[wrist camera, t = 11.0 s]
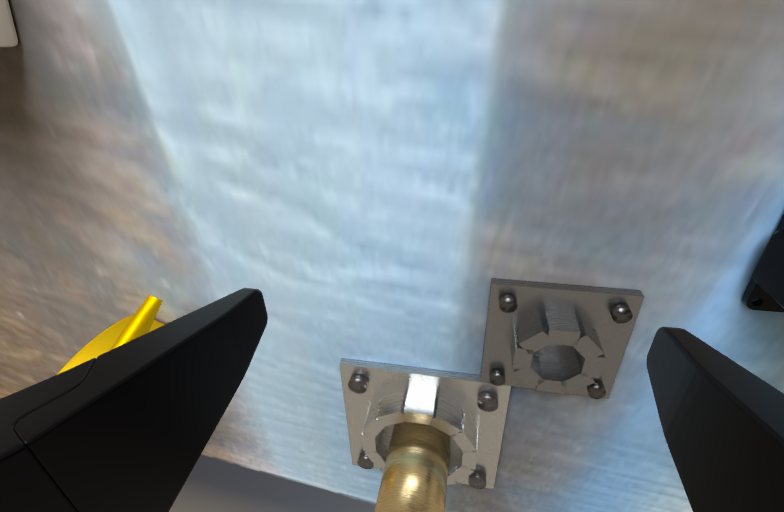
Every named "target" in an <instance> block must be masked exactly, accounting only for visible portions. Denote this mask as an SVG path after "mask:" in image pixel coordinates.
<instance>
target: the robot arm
mask: <svg viewBox="0 0 784 512" xmlns="http://www.w3.org/2000/svg"><path fill="white" fill-rule="evenodd" d="M756 298H759V299H758V300H756V301H753V300H754V299H756ZM742 301H743V303H744V304H745V305H746V306H747V307H748V308H750V309H753V310H762V311H774V312H784V216H783V218H782V220H781V222H780V224H779V226H778V227H777V229H776V231H775V233H774V234H773V235H772V237H771V239H770V241H769V243H768V245H767V247H766V249H765V251H764V253H763V255H762V257H761V259H760V261H759V263H758V265H757V267H756V269H755V271H754V273H753V275H752V279H751V281H750V283H749V285H748V287H747V289H746V291H745V293H744V295H743V297H742ZM267 319H268V316H267V311H266V307H265V303H264V299H263V295H262V292H261V291H260V290H258V289H251V288H243V289H241V290H238V291H236V292H234V293H232V294H230V295H228V296H226V297H223V298H221V299H219V300H217V301H215V302H213V303H211V304H208V305H206V306H204V307H202V308H200V309H198V310H196V311H193V312H191V313H189V314H187V315H185V316H183V317H181V318H178V319H176V320H174V321H172V322H170V323H168V324H166V325H163V326H161V327H159V328H157V329H155V330H153V331H151V332H148V333H146V334H144V335H142V336H140V337H138V338H136V339H133V340H131V341H129V342H127V343H125V344H123V345H121V346H118V347H116V348H114V349H112V350H110V351H108V352H106V353H103V354H101V355H99V356H98V357H97V359H96V358H92V359H90V360H88V361H86V362H84V363H82V364H80V365H78V366H75V367H73V368H71V369H69V370H67V371H64V372H62V373H60V374H58V375H55V376H53V377H51V378H49V379H47V380H44V381H42V382H39V383H37V384H35V385H32V386H30V387H28V388H25V389H23V390H21V391H18V392H16V393H13V394H11V395H9V396H6V397H4V398H1V399H0V512H169V510H170V508H171V507H172V505H173V503H174V501H175V500H176V498H177V496H178V494H179V492H180V490H181V489H182V487H183V485H184V483H185V482H186V480H187V478H188V476H189V474H190V473H191V471H192V469H193V467H194V466H195V464H196V462H197V460H198V458H199V457H200V455H201V453H202V451H203V450H204V448H205V446H206V444H207V442H208V441H209V439H210V437H211V435H212V433H213V432H214V430H215V428H216V426H217V425H218V423H219V421H220V419H221V417H222V416H223V414H224V412H225V410H226V408H227V407H228V405H229V403H230V401H231V400H232V398H233V396H234V394H235V392H236V391H237V389H238V387H239V385H240V383H241V381H242V379H243V378H244V376H245V373H246V371H247V369H248V367H249V365H250V362H251V360H252V358H253V355H254V353H255V351H256V348H257V346H258V344H259V341H260V339H261V336H262V334H263V332H264V329H265V327H266V324H267ZM647 369H648V373H649V377H650V381H651V385H652V389H653V393H654V397H655V401H656V405H657V409H658V413H659V417H660V421H661V425H662V428H663V432H664V435H665V438H666V441H667V444H668V447H669V449H670V452H671V455H672V457H673V460H674V463H675V465H676V468H677V471H678V473H679V476H680V479H681V481H682V484H683V486H684V489H685V492H686V494H687V497H688V500H689V502H690V505H691V508H692V510H693V512H784V394H783V393H782V392H780V391H778V390H777V389H775V388H774V387H772V386H771V385H769V384H768V383H766V382H765V381H763V380H762V379H760V378H759V377H757V376H755V375H754V374H752V373H751V372H749V371H748V370H746V369H745V368H743V367H742V366H740V365H739V364H737V363H735V362H734V361H732V360H731V359H729V358H728V357H726V356H725V355H723V354H722V353H720V352H719V351H717V350H715V349H714V348H712V347H711V346H709V345H708V344H706V343H705V342H703V341H702V340H700V339H699V338H697V337H695V336H694V335H692V334H691V333H689V332H688V331H686V330H684V329H681V328H672V327H661V328H659V329H658V331H657V332H656V335H655V337H654V340H653V342H652V345H651V348H650V350H649V353H648V355H647Z"/></svg>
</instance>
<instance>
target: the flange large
mask: <svg viewBox="0 0 784 512" xmlns="http://www.w3.org/2000/svg"><path fill="white" fill-rule="evenodd" d="M340 372H341V379H342V387H343V395H344V402H345V410H346V417H347V425H348V432H349V440H350V448H351V455H352V463H353V464H354V465H359V466H360V467H362V468H365V469H371V468H376V469H381V471H383V472H384V467H385V463H386V458H387V454H388V449H389V445H390V440H391V436H392V431H393V427H394V424H397V423H401V422H405V421H407V422H414V423H420V424H427V425H431V426H433V427H435V428H437V429H439V430H441V431H442V432H444V433H446V434H448V435H450V436H451V439H450V452H449V464H448V477H447V485H452V484H457V483H462V484H467V485H470V486H472V487H473V488H477V489H481V488H490V489H494V483H495V478H496V472H497V466H498V460H499V454H500V448H501V442H502V436H503V431H504V425H505V419H506V413H507V407H508V401H509V395H510V390H511V386H506V385H501V386H495V385H493V384H490V383H482V382H481V376H479V375H471V374H463V373H455V372H447V371H439V370H431V369H423V368H415V367H407V366H399V365H391V364H383V363H375V362H367V361H359V360H351V359H343V358H342V360H341V362H340Z"/></svg>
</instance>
